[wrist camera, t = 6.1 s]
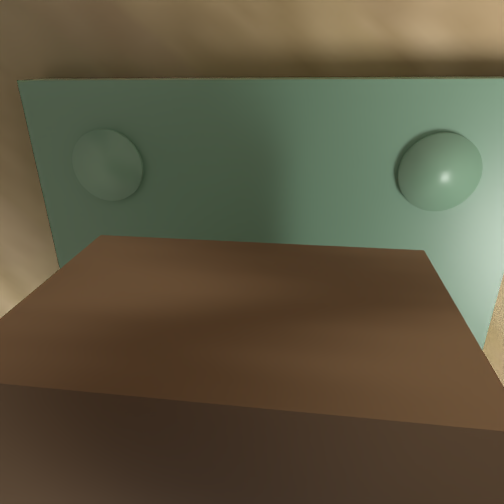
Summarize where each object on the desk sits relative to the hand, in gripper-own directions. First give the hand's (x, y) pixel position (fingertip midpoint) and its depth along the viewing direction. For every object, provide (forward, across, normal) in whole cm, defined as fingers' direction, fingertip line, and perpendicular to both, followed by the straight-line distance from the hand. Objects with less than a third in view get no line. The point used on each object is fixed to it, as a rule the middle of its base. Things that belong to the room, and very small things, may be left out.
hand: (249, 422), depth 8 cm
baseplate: (+5, 0, 0) cm, 5 cm away
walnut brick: (+1, 0, 0) cm, 1 cm away
